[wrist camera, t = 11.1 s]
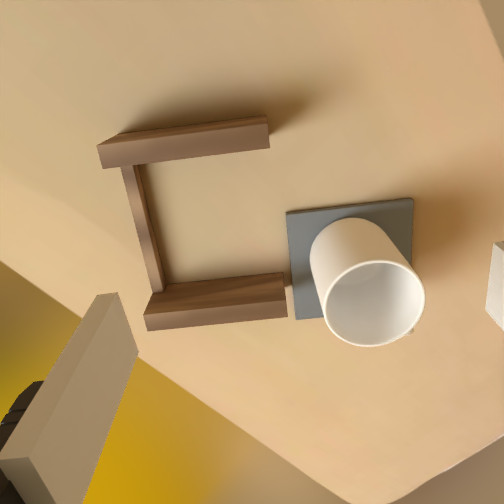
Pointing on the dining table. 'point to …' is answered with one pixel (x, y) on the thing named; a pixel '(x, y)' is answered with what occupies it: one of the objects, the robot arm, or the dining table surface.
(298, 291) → the coaster
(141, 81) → the dining table surface
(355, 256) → the mug
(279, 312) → the frame
